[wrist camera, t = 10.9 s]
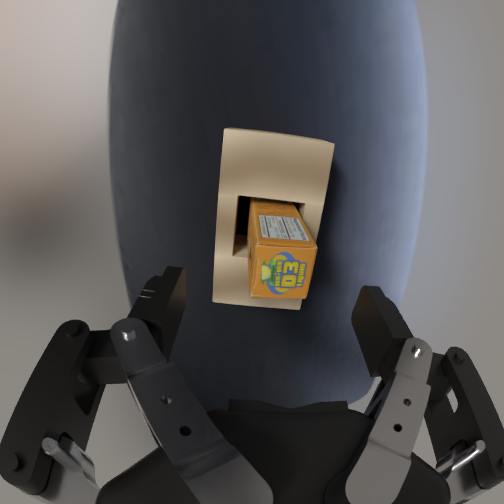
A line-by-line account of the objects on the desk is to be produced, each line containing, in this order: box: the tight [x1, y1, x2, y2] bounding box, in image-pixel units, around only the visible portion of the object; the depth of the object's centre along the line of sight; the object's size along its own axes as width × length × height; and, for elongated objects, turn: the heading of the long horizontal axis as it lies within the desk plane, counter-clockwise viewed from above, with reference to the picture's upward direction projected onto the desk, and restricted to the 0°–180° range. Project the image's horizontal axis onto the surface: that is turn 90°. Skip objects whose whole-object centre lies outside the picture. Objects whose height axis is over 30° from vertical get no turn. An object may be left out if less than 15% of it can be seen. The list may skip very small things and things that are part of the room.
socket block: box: [213, 128, 334, 310], centre depth 21 cm, size 13×7×4 cm, turn 174°
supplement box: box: [247, 197, 318, 299], centre depth 18 cm, size 3×3×10 cm
